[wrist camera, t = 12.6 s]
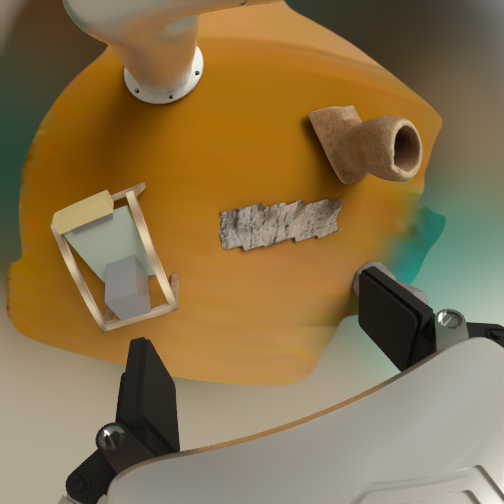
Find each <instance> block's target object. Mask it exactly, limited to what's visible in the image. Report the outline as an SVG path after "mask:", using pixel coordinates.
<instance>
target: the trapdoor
mask: <svg viewBox="0 0 504 504" xmlns="http://www.w3.org/2000/svg"><path fill="white" fill-rule="evenodd" d="M113 205H114V201H113V199H112V198H111V196H110V194H109V192H108V190H105V191H103V192H100V193H98V194H95V195H93V196H91V197H88V198H86V199H84V200H82V201H79V202H77V203H75V204H73V205H70V206H68V207H66V208H64V209H62V210H60V211H58V212H56V213H54V216H53V220H52V226H53V227H54V228H55V230H56V231H57V232H58V233H59V235H60V234H63V233H64V236H65V238H66V239H67V240H68V241H69V243H70V244H71V245H72V246H73V248H74V249H75V250H76V251H77V252H78V254H79V255H80V256H81V257H82V258H83V260H84V261H85V262H86V263H87V264H88V265H89V267H90V268H91V269H92V270H93V271H94V272H95V273H96V275H97V276H98V277H99V278H100V279H101V280H102V281H103V282H104V283H105V280H106V265H107V264H110V263H113V262H116V261H119V260H121V259H124V258H127V257H130V256H133V255H136V257H137V259H138V260H139V262H140V264H141V265H142V267H143V268H144V270H145V272H146V273H147V275H148V276H151V275H154V274H155V271H154V269H153V266H152V264H151V262H150V259H149V257H148V254H147V252H146V249H145V246H144V244H143V241H142V239H141V236H140V233H139V231H138V228H137V225H136V223H135V220H134V217H133V215H132V213H131V211H130V209H129V207H128V205H126V206H123V207H120V208H118V209H115V210H113Z"/></svg>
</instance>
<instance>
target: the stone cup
mask: <svg viewBox="0 0 504 504" xmlns="http://www.w3.org/2000/svg"><path fill="white" fill-rule="evenodd" d="M308 116H309V119H310V121H311V123H312V126H313V128H314V130H315V132H316V134H317V137H318V139H319V141H320V143H321V145H322V147H323V149H324V151H325V154H326V156H327V158H328V160H329V162H330V164H331V166H332V168H333V169H334V171H335V173H336V175H337V176H338V178H339V179H340V181H341V182H342V183H344V184H352V183H355V182H358V181H360V180H362V179H363V178H364V177H366V176H367V175H368V174H369V173H371V174H372V175H375V176H377V177H379V178H382V179H385V180H390V181H397V182H403V181H408V180H410V179H411V178H412V177H413V176H414V175H415V174H416V173H417V171H418V169H419V167H420V164H421V158H422V143H421V140H420V136H419V134H418V132H417V130H416V128H415V127H414V125H413V124H412V123H411V122H410V121H408V120H407V119H404V118H401V117H397V116H391V115H385V116H380V117H376V118H373V119H370V120H368V121H365V122H362V121H361V119H360V117H359V115H358V113H357V112H356V110H355V108H354V106H352V105H349V106H346V107H335V106H333V107H327V108H323V109H320V110H316V111H313V112H311V113H309V114H308Z"/></svg>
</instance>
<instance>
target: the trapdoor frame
mask: <svg viewBox="0 0 504 504" xmlns="http://www.w3.org/2000/svg"><path fill="white" fill-rule="evenodd" d="M145 188H146V184H145V181H144V182H142V183H139V184H137V185H136V186H133V187H131V188H128V189H125V190H123V191H120V192H117V193H115V194H112V195H110V196H111V198H112V199H113V201H116V200H119V199H121V198H124V197H127V200H128V203H129V205H130V208H131V211H132V214H133V217H134V220H135V223H136V225H137V228H138V231H139V233H140V236H141V239H142V241H143V244H144V246H145V249H146V252H147V254H148V257H149V259H150V262H151V264H152V266H153V269H154V271H155V274H156V276H157V278H158V281H159V283H160V285H161V288H162V290H163V292H164V295H165V297H166V299H167V301H168V303H166V304H163V305H160V306H157V307H153V308H151V312H150V313H147V314H143V315H140V316H137V317H133V318H130V319H126V320H123V321H121V320H120V319H119V318H117V319H113V320H111V319H112V316H113V313H114V312H113V311H112V310H111V309H110V308H109V307H108V306H107V308H106V311H105V313H104V316H102V314H101V312H100V310H99V308H98V307H97V305H96V303H95V301H94V299H93V297H92V295H91V293H90V291H89V289H88V288H87V286H86V283H85V281H84V279H83V277H82V275H81V273H80V271H79V269H78V267H77V265H76V262H75V260H74V258H73V256H72V253H71V251H70V249H69V246H68V244H67V242H66V239H65V237H64V234H60V235H59V233H58V232H57V231H56V230H55V228H54V227H53V226H52V225H50V226H51V229H52V231H53V234H54V236H55V239H56V241H57V244H58V246H59V249H60V251H61V253H62V255H63V258H64V260H65V262H66V264H67V267H68V269H69V271H70V273H71V275H72V277H73V279H74V281H75V283H76V285H77V287H78V289H79V291H80V293H81V295H82V297H83V299H84V301H85V302H86V304H87V306H88V308H89V310H90V312H91V313H92V315H93V317H94V319H95V320H96V322H97V324H98V325H99V327H100V329H101V330H102V332H104V331H108V330H111V329H115V328H118V327H122V326H125V325H129V324H132V323H136V322H139V321H143V320H146V319H149V318H153V317H156V316H160V315H163V314H166V313H169V312H173V311H176V310H179V277H178V274H177V273H175V274H172V276H171V287H170V285H169V282H168V280H167V278H166V275H165V273H164V270H163V268H162V265H161V263H160V260H159V258H158V255H157V253H156V250H155V247H154V245H153V242H152V239H151V237H150V234H149V231H148V229H147V226H146V223H145V220H144V217H143V214H142V212H141V209H140V206H139V203H138V200H137V196H138V195H139V194H140V193H141V192H142V191H143V190H144V189H145Z"/></svg>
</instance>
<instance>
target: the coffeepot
mask: <svg viewBox="0 0 504 504" xmlns="http://www.w3.org/2000/svg"><path fill="white" fill-rule="evenodd" d="M371 266H375V267H377V268H378V269H379V270H381V271H382V272H384V273H385V274H386V275H388V276H389V277H390V278H392V279H393V280H395V281H396V282H397V283H399V284H400V285H401V286H403V287H404V288H405V289H407V290H408V291H409V292H411V293H412V294H413V295H415V296H416V297H417V298H419V299H420V300H421V301H423V302H424V303H425V304H426V305H428V301H427V297H426V293H425V292H424V291H422V290H420V289H418V288H415V287H413V286H411V285H409V284H406V283H404V282H402V281H397V280H396V278H395V277H394V276H393V275H392V274H391V272H390V271H389V270H388V269H387V268H386V267H385V266H384V265H383V264H382V263H381V262H375V261H372V262H370V261H369V262H368V263H366V264H365V265H363V266H362V267H361V268H360V269H359V270H358V271H357V273H356V275H355V278H354V281H353V289H354V291H355V293H356V294H357V296H358V297H359V275H360V274H361V272H362V270H363V269H366V268H369V267H371Z"/></svg>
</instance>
